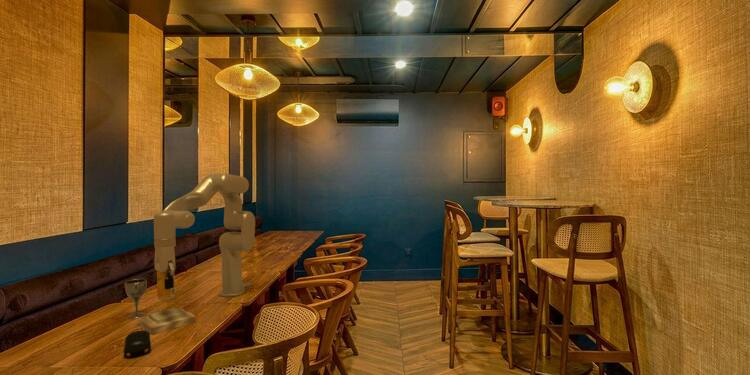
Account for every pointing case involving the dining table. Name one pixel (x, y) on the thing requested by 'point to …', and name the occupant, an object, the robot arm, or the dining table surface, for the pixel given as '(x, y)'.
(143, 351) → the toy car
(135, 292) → the wine glass
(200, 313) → the dining table surface
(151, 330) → the riser
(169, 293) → the glass of juice
